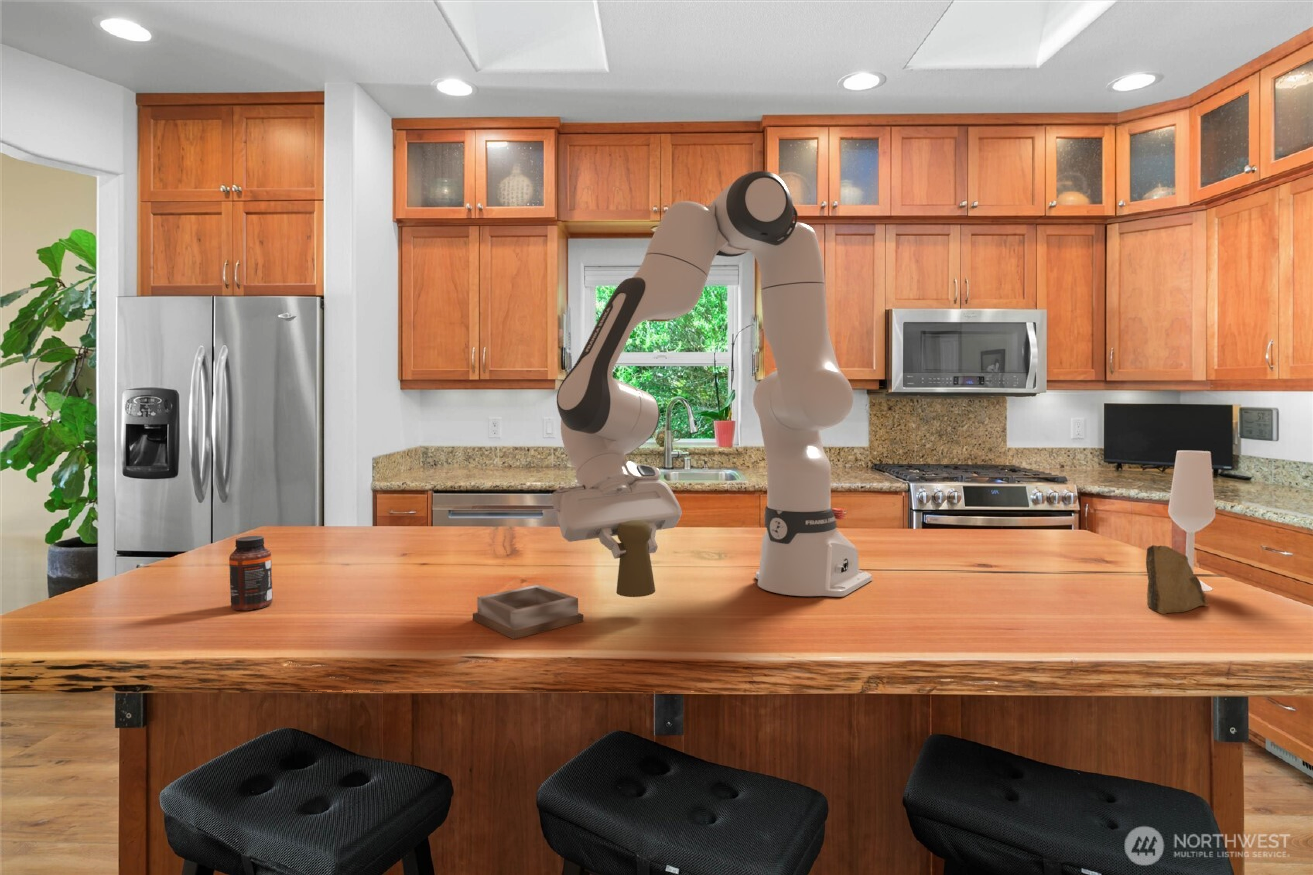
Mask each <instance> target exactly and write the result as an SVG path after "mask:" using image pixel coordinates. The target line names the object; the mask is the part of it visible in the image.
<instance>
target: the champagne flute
mask: <svg viewBox="0 0 1313 875" xmlns="http://www.w3.org/2000/svg"><path fill="white" fill-rule="evenodd" d="M1213 480H1214V479H1213V466H1212V453H1211V451H1208V450H1205V451H1204V450H1177V451H1176V455H1175V461H1174V468H1173V475H1172V483H1171V488H1170V489H1171V490H1170V494H1169V502H1168V508H1167V514H1168V516H1169V517H1170V519H1171V520H1172V521H1173V522H1174V523H1175V524H1176V525H1177V526H1178V527H1179V528H1180V529H1181V530H1183V531H1185V532H1186V535H1185V539H1186V541H1185V542H1186V543H1185V556H1187V558H1188V564H1189V566H1190V567H1191V569H1192V571H1193V572H1194V569H1195V568H1194V566H1195V565H1194V564H1195V563H1194V561H1195V535H1196V533H1197V532H1199V531H1201V530H1203V529H1204V528H1206V527H1207V526H1208V525H1210V524H1211V523H1212V522H1213V521H1214V519H1215V518H1216V504H1215V503H1216V502H1215V494H1214V493H1215V492H1214V491H1215V490H1214V481H1213ZM1199 581H1200V584H1201V587H1202V590H1203V592H1209V591H1212V590H1213V588H1212V587H1211V586H1209V585H1208V584H1206V583H1204V582H1203V581H1202V580H1201V579H1199Z"/></svg>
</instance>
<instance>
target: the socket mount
mask: <svg viewBox="0 0 1313 875" xmlns="http://www.w3.org/2000/svg"><path fill="white" fill-rule="evenodd" d="M476 599H477V600H476V602H477V604H476V606H477V612H472V621H474V622H476V623H478V624H480V625H482V626H485V627H487V628H489V629H492V630H493V631H495V632H498V633H500V635H501V634H502V635H503V636H506V637H508V638H510V639H512V640H517V639H521V638H524V637H527V636H531V635H532V636H533V635H535V634H539V633H544V632H547V631H551V630H555V629H558V628H563V627H566V626H571V625H573V624H578V623H582V622H584V614H582V613H580V612H579V597H575V596H573V595H569V594H567V593H564V592H561V591H559V590H555V589H552V588H549V587H546V586H544V585H541V584H534V585H530V586H525V587H520V588H516V589H511V590H510V589H509V590H505V591H500V592H496V593H491V594H487V595H482V596H477V598H476Z"/></svg>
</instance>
